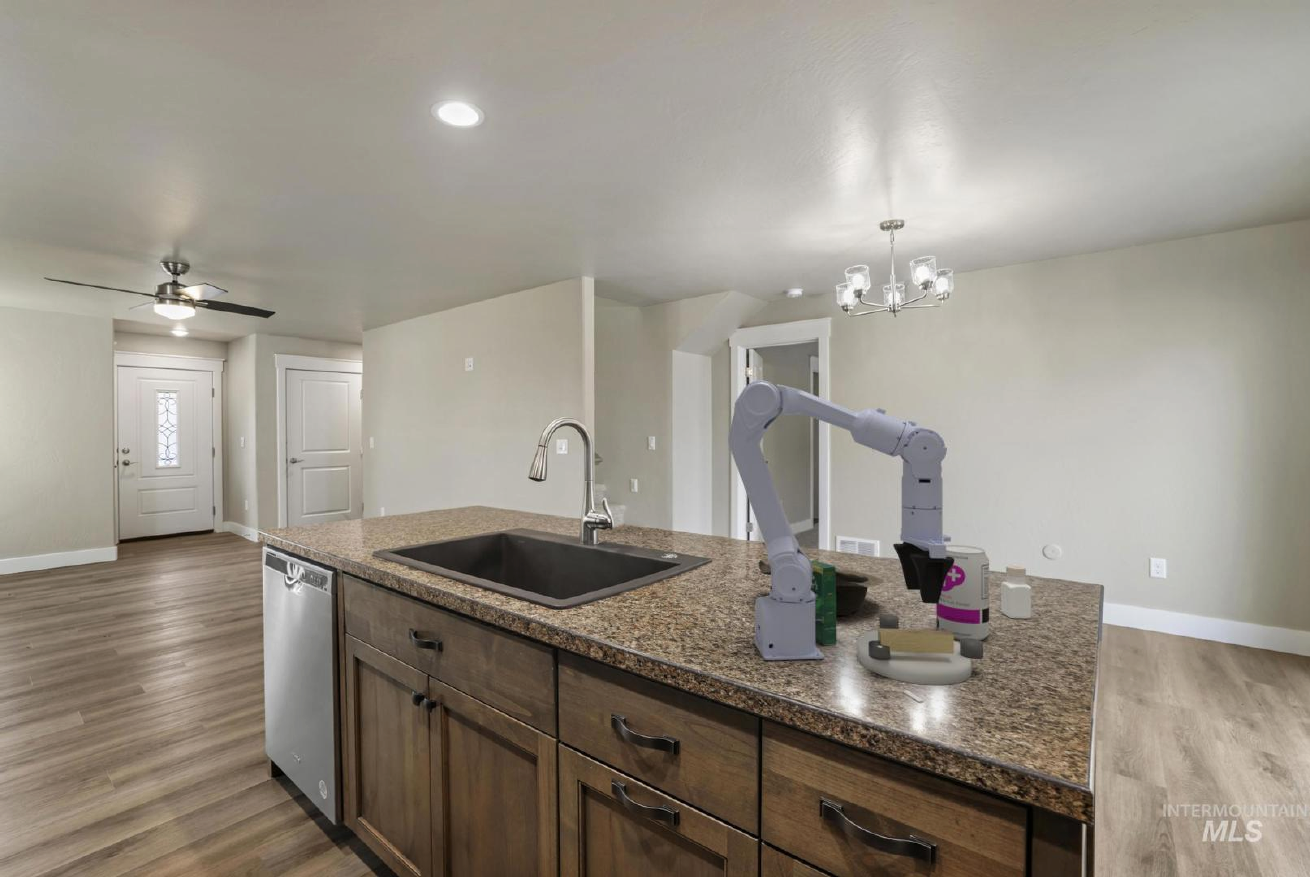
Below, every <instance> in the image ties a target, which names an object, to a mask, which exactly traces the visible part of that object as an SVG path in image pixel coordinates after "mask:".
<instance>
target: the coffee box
mask: <svg viewBox="0 0 1310 877" xmlns="http://www.w3.org/2000/svg"><path fill="white" fill-rule="evenodd" d="M809 559H810V561H811V563H812V566H813V574H812V577H811V579H812V585H811V591H812V592H814V593H815V642H816V643H818V644H821V645H823V646H832V645H836V644H838V643H837V640H838V639H837V615H836V570H835V568H836V566H835V565H832V564H829V563H824V562H822V561H818V560H816V559H812V558H809Z"/></svg>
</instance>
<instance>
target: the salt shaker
mask: <svg viewBox="0 0 1310 877" xmlns="http://www.w3.org/2000/svg"><path fill="white" fill-rule="evenodd" d="M1026 569H1027V568H1026V567H1024V566H1022V565H1013V564H1011V565H1006V566H1005V576H1006V581H1003V582H1001V583H1000V596H1001V599H1000V603H1001V604H1000V606H1001V608H1000V610H1001V613H1002V614H1003V615H1004V616H1006V617H1008V618H1010V619H1019V620H1020V619H1023V620H1026V619H1027V620H1028V619H1031V617H1032V587H1031V586H1030V585H1029V584H1028V583H1026V576H1027V575H1026V573H1027V570H1026Z"/></svg>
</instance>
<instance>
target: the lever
mask: <svg viewBox="0 0 1310 877" xmlns="http://www.w3.org/2000/svg"><path fill="white" fill-rule="evenodd" d="M877 630H878V640H874V641H869V643H868V652H869V657H871V658H873V659H876V660H889V659H890V651H892V652H918V653H945V654H954V641H955V639H954V635H953V634H952V633H951V632H950V631H940V630H938V629H937V630H936V629H935V630H934V629H932V630H931V629H911V628H910V629H909V628H908V629H906V628H899V629H881V628H877Z"/></svg>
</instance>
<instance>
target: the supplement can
mask: <svg viewBox="0 0 1310 877" xmlns="http://www.w3.org/2000/svg"><path fill="white" fill-rule="evenodd" d="M945 545H946V557H952V558H954V564H953V566H952V567H951V568H950V570H949V572H948V574H947V576H946V578H945V581H944V584H943V588H942V592H941V596H940V600H939V603H938V604H936V614H935V615H936V620H935V621H936V623H935V624H936V629H937V630H940V631H950V632H951V633H952V634H953V635H954V640H959V641H960V639H963V638H971V639H976V640H979V641H983V640H984V639H985V638H986V637H988V636H989V635H990V560H989V558H988V555H987V554H986V551H985V549H984V548H981V547H976V546H971V545H970V546H969V545H958V544H949V545H947V544H945Z"/></svg>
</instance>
